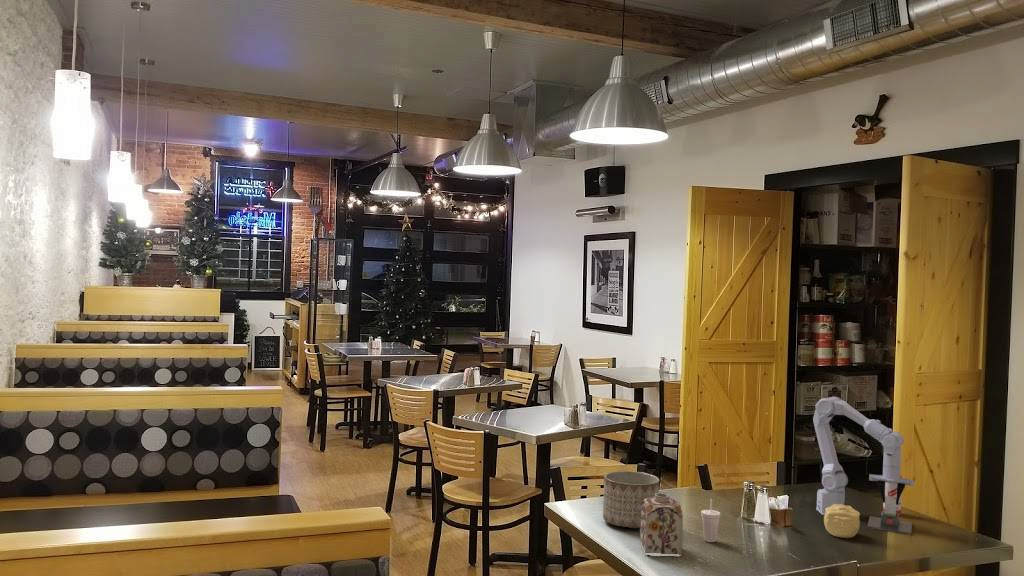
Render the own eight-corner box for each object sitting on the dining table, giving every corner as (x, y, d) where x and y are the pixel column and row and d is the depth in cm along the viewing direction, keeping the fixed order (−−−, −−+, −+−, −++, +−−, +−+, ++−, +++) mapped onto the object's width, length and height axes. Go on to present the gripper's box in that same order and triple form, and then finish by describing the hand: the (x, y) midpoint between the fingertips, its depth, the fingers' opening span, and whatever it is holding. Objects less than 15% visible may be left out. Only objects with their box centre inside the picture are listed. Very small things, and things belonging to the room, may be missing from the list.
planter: (655, 535, 260) (656, 486, 260) (598, 528, 266) (600, 481, 265) (660, 519, 279) (661, 473, 279) (607, 513, 284) (608, 468, 284)
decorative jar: (639, 543, 251) (641, 489, 251) (675, 545, 251) (677, 490, 251) (644, 556, 239) (646, 499, 239) (682, 558, 239) (684, 500, 239)
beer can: (904, 516, 292) (905, 474, 292) (887, 515, 292) (888, 474, 292) (896, 511, 298) (897, 470, 298) (879, 511, 298) (881, 470, 298)
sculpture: (824, 537, 263) (825, 506, 263) (822, 527, 275) (823, 497, 275) (860, 542, 259) (861, 511, 259) (857, 532, 271) (858, 502, 271)
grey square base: (867, 528, 276) (867, 515, 276) (869, 518, 288) (870, 506, 288) (911, 535, 269) (911, 522, 269) (911, 524, 282) (912, 512, 282)
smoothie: (720, 539, 258) (721, 498, 258) (719, 545, 252) (720, 503, 252) (700, 537, 260) (702, 495, 260) (699, 542, 254) (700, 500, 254)
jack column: (884, 516, 278) (884, 497, 278) (884, 514, 281) (885, 495, 281) (895, 518, 276) (896, 499, 276) (896, 515, 279) (896, 497, 279)
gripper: (869, 464, 279) (867, 502, 279) (914, 470, 272) (912, 508, 272) (870, 461, 285) (869, 497, 285) (914, 466, 278) (913, 504, 278)
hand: (890, 502), depth 279 cm, fingers open, 4 cm apart
